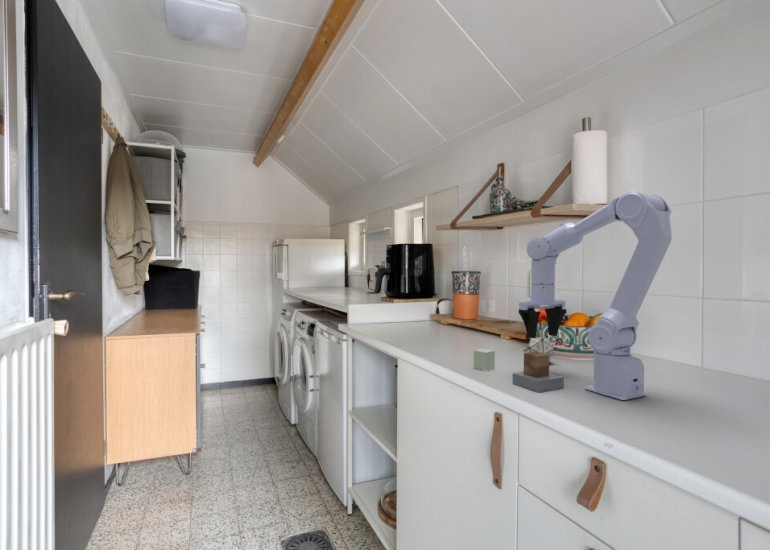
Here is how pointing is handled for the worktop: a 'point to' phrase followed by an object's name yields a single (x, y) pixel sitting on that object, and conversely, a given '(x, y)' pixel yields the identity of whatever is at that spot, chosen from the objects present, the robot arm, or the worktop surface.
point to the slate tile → (538, 382)
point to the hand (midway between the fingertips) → (542, 336)
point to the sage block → (484, 359)
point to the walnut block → (536, 364)
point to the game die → (540, 346)
